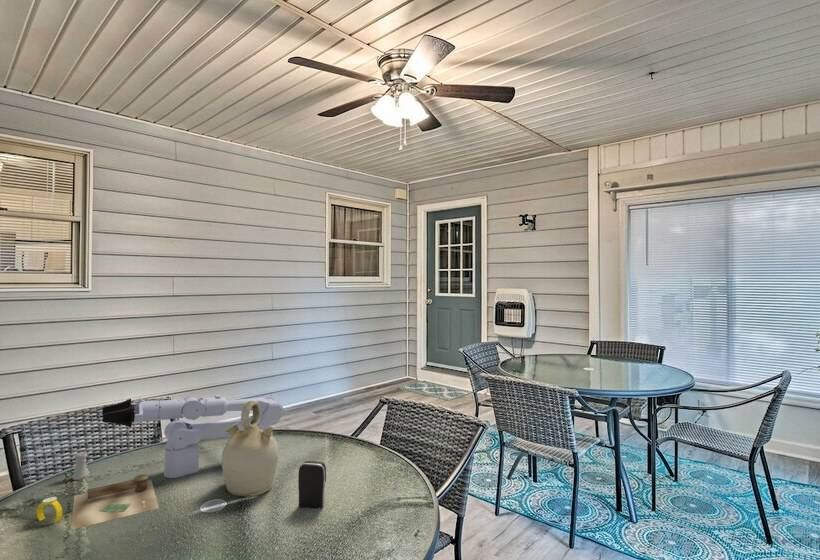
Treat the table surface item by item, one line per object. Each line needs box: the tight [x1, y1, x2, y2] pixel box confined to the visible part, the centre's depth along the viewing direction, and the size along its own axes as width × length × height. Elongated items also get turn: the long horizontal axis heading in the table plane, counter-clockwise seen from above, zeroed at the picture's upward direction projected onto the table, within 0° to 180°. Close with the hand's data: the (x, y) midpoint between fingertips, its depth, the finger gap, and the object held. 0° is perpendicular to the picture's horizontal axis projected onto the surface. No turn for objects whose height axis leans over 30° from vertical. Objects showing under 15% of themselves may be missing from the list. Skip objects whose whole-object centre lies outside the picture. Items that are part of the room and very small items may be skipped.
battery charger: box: [297, 460, 327, 509], centre depth 118 cm, size 7×4×11 cm, turn 84°
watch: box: [36, 496, 63, 524], centre depth 107 cm, size 6×3×6 cm, turn 80°
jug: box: [221, 401, 279, 499], centre depth 127 cm, size 15×16×25 cm
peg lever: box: [87, 474, 149, 499], centre depth 120 cm, size 14×3×4 cm, turn 125°
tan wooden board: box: [70, 479, 160, 531], centre depth 116 cm, size 18×20×1 cm
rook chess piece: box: [71, 451, 90, 481], centre depth 131 cm, size 4×4×8 cm
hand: (102, 414), depth 124 cm, fingers open, 7 cm apart
